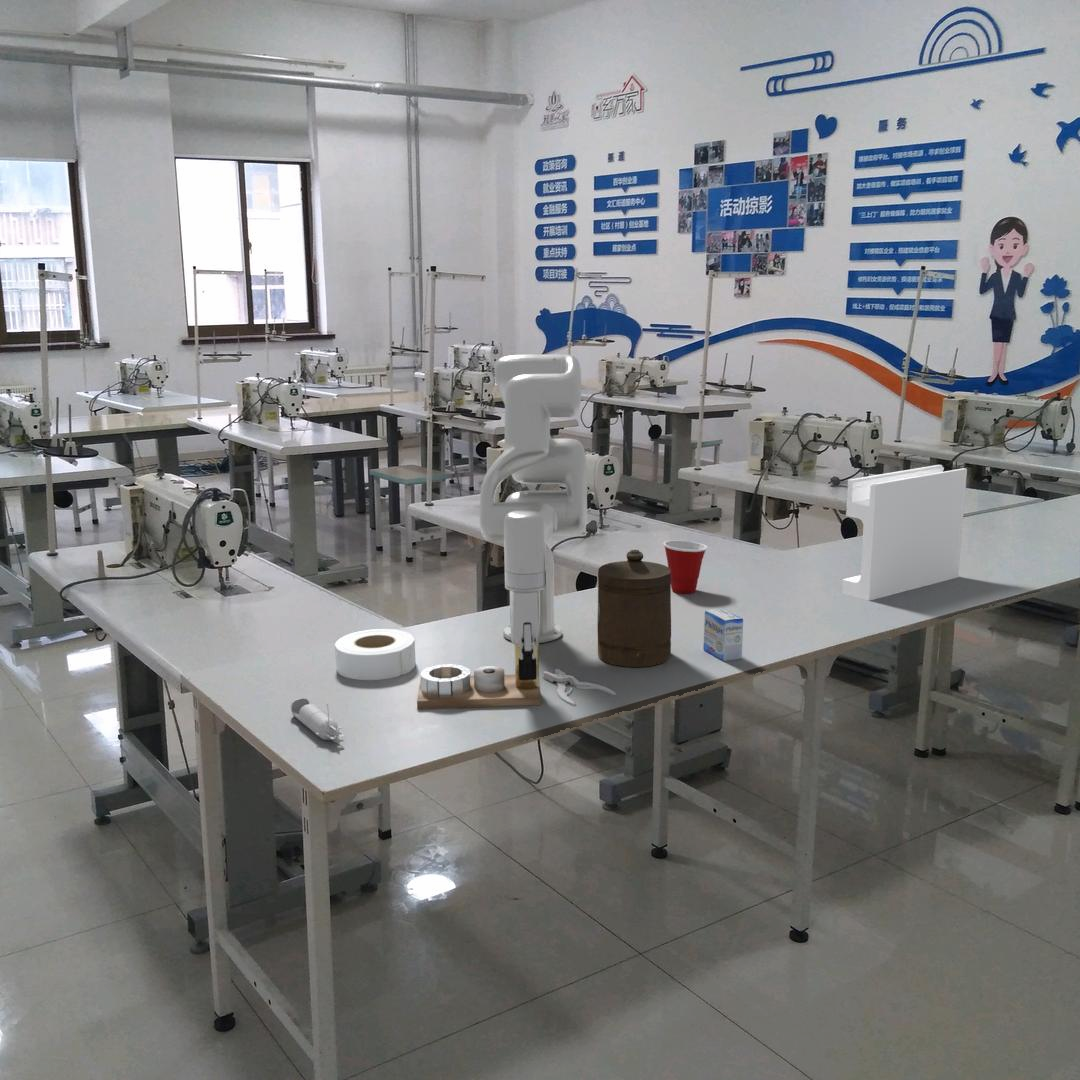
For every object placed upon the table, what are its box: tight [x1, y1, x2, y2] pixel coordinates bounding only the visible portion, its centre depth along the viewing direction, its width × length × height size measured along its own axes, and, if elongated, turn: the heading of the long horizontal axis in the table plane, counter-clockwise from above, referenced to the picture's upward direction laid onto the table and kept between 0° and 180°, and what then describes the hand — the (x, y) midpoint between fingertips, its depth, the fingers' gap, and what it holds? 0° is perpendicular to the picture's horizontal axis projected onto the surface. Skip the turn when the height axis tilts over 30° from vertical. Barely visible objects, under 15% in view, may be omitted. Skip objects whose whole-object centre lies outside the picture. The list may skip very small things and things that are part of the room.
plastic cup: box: [663, 539, 709, 595], centre depth 261 cm, size 11×11×12 cm
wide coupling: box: [420, 663, 471, 697], centre depth 196 cm, size 9×9×3 cm
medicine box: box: [702, 608, 744, 662], centre depth 216 cm, size 8×4×9 cm, turn 23°
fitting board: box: [416, 665, 541, 710], centre depth 196 cm, size 12×22×5 cm, turn 93°
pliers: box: [542, 668, 617, 706], centre depth 200 cm, size 10×2×15 cm
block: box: [841, 464, 968, 602], centre depth 262 cm, size 35×8×28 cm, turn 125°
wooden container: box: [596, 549, 672, 668], centre depth 215 cm, size 15×15×22 cm
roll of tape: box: [334, 628, 416, 681], centre depth 212 cm, size 16×16×6 cm
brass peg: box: [514, 641, 540, 690], centre depth 196 cm, size 4×4×8 cm
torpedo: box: [290, 697, 345, 745], centre depth 182 cm, size 18×5×7 cm, turn 35°
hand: (527, 673), depth 197 cm, fingers closed on brass peg, 4 cm apart
